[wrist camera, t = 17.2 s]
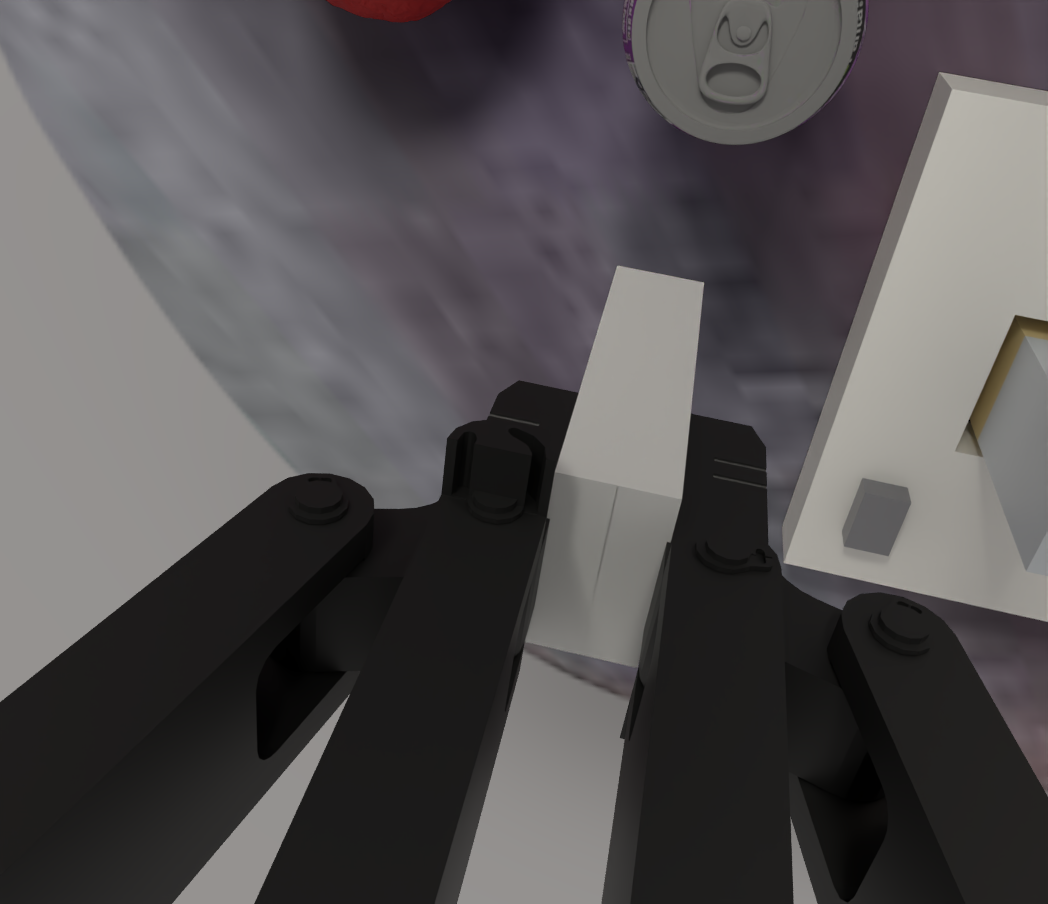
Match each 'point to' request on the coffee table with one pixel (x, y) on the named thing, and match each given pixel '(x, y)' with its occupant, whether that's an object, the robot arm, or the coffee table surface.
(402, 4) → the pomegranate
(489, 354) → the coffee table surface
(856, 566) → the socket plate
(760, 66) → the beverage can
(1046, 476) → the plug
